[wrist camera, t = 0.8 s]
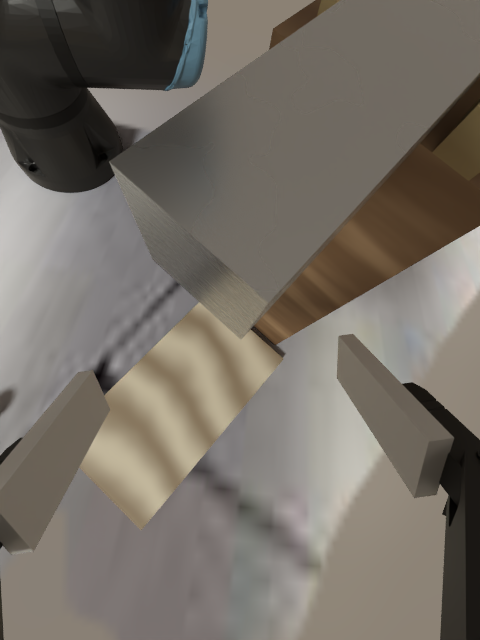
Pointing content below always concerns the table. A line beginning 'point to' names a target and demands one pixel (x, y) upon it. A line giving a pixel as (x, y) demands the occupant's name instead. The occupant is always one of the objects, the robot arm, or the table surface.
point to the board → (174, 410)
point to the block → (295, 147)
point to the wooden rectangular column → (388, 214)
